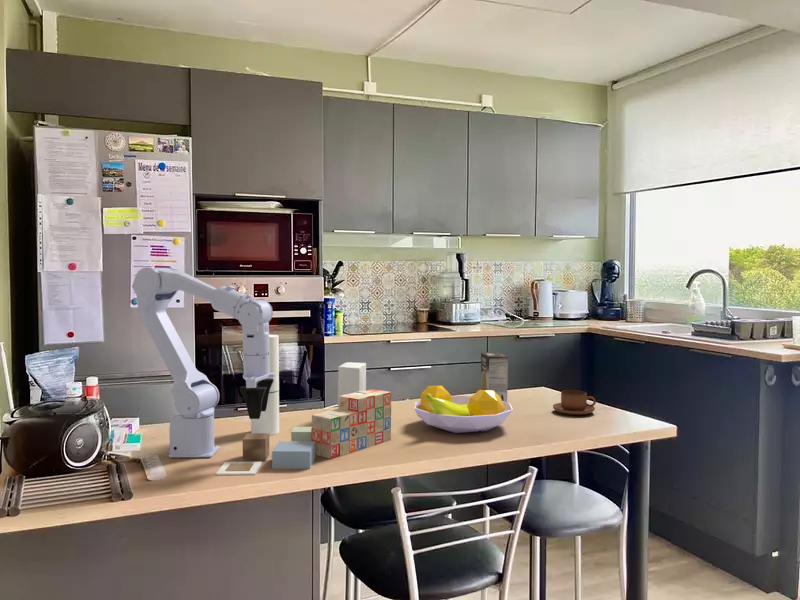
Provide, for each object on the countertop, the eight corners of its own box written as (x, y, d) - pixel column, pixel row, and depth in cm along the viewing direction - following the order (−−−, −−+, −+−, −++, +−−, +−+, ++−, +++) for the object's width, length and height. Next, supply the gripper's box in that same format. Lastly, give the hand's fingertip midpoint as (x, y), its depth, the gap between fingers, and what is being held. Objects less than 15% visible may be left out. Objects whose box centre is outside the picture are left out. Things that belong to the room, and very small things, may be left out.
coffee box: (480, 403, 206) (480, 352, 205) (499, 402, 206) (500, 352, 206) (487, 409, 197) (487, 356, 196) (507, 408, 197) (508, 355, 197)
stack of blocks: (330, 460, 145) (330, 405, 144) (310, 455, 148) (310, 401, 148) (391, 440, 161) (391, 391, 161) (372, 436, 165) (372, 388, 165)
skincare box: (345, 415, 188) (345, 361, 187) (367, 416, 187) (367, 362, 186) (336, 422, 180) (336, 366, 179) (359, 423, 178) (359, 366, 178)
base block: (272, 469, 138) (272, 451, 138) (279, 458, 146) (279, 441, 146) (310, 470, 138) (309, 451, 138) (315, 458, 146) (315, 441, 146)
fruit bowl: (468, 412, 193) (469, 374, 193) (533, 431, 170) (534, 388, 170) (388, 424, 178) (388, 382, 177) (447, 446, 155) (448, 399, 155)
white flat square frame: (215, 474, 133) (215, 473, 133) (225, 463, 141) (225, 461, 141) (255, 474, 134) (255, 472, 134) (262, 463, 142) (262, 461, 142)
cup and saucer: (587, 408, 198) (587, 388, 198) (600, 417, 187) (601, 396, 186) (548, 408, 198) (548, 388, 198) (559, 417, 186) (559, 396, 186)
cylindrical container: (265, 427, 173) (265, 334, 172) (285, 431, 169) (284, 335, 168) (245, 432, 168) (244, 336, 166) (264, 437, 164) (263, 338, 162)
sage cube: (291, 453, 149) (291, 431, 149) (294, 447, 154) (294, 426, 154) (313, 453, 150) (313, 431, 149) (315, 447, 155) (315, 426, 154)
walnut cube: (242, 461, 143) (242, 439, 143) (247, 455, 148) (247, 433, 148) (265, 461, 143) (265, 439, 143) (269, 455, 148) (269, 433, 148)
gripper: (269, 358, 137) (270, 421, 138) (279, 349, 152) (280, 407, 153) (235, 358, 137) (237, 422, 138) (249, 350, 152) (250, 408, 152)
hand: (258, 414), depth 145 cm, fingers open, 7 cm apart
